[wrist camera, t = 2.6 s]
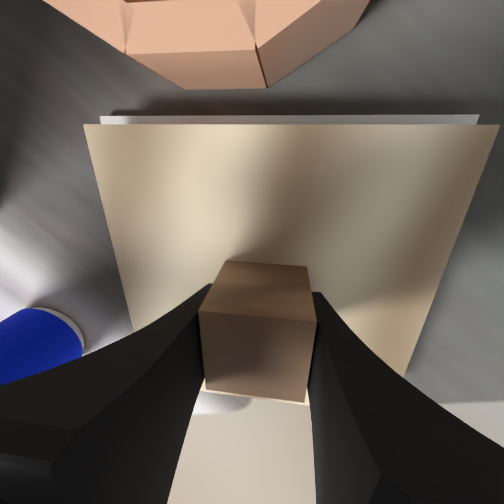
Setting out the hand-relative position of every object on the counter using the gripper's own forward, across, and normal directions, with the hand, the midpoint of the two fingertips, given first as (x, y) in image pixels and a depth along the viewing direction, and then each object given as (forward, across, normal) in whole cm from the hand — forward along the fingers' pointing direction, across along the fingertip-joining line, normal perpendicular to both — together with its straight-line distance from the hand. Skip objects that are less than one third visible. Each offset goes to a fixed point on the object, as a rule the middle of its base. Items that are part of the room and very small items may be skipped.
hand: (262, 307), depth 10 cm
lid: (+2, 0, 0) cm, 2 cm away
